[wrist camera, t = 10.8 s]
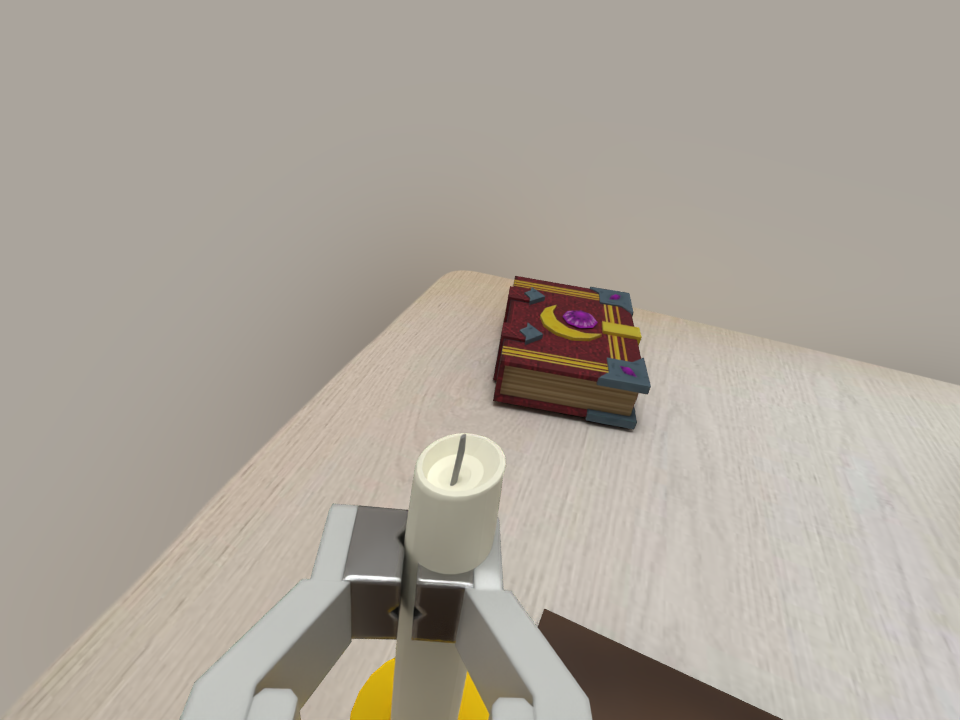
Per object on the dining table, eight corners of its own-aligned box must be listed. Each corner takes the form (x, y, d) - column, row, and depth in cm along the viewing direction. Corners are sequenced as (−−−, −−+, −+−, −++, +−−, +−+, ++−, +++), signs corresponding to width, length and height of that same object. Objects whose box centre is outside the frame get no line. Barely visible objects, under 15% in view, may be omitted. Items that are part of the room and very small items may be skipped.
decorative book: (488, 406, 41) (497, 353, 39) (506, 308, 55) (514, 263, 52) (634, 433, 41) (654, 381, 38) (616, 327, 54) (630, 283, 51)
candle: (301, 897, 15) (211, 547, 6) (357, 696, 19) (352, 323, 10) (486, 932, 15) (663, 626, 6) (501, 722, 19) (616, 367, 10)
